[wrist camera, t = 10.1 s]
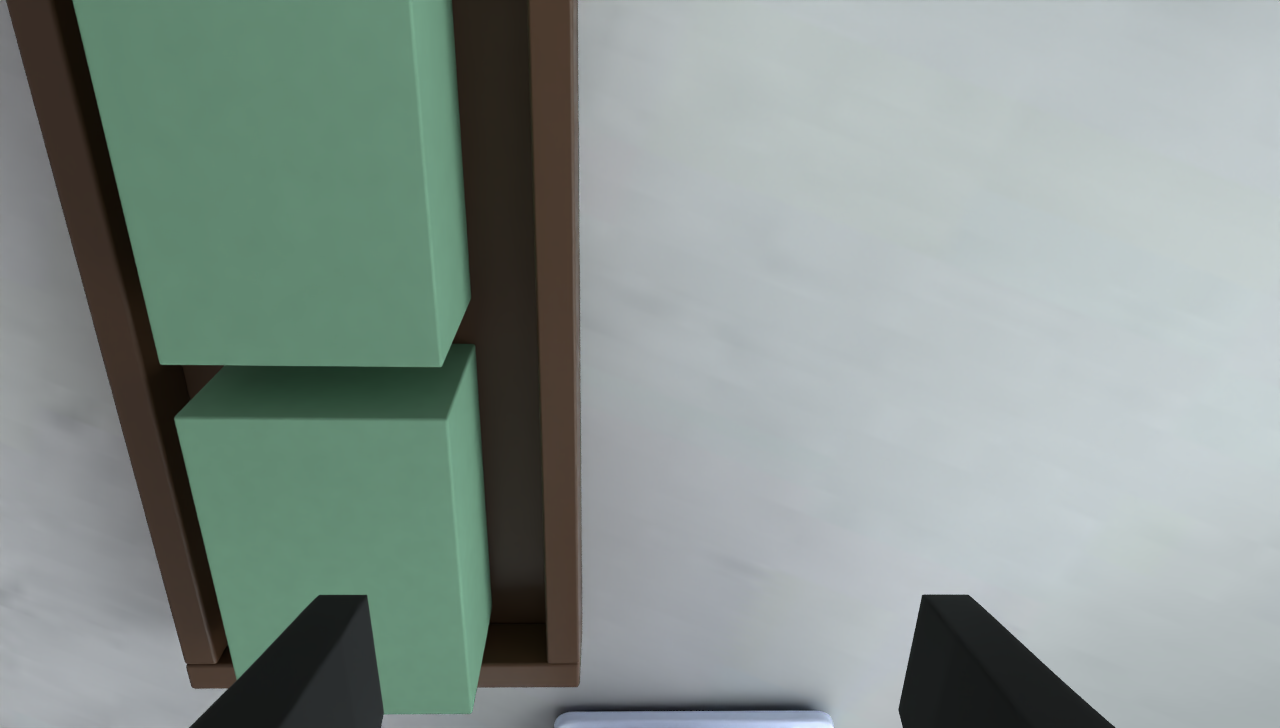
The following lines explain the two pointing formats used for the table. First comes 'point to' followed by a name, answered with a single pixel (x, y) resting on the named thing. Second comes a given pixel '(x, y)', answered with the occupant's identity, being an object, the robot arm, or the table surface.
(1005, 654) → the robot arm
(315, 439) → the green block
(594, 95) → the table surface
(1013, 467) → the table surface
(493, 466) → the shallow wooden tray
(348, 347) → the green rectangular block
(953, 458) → the table surface
